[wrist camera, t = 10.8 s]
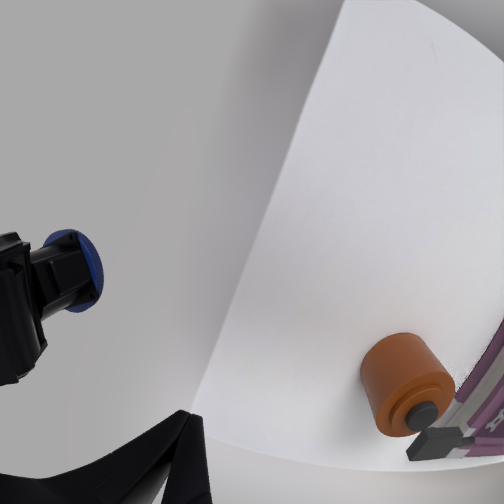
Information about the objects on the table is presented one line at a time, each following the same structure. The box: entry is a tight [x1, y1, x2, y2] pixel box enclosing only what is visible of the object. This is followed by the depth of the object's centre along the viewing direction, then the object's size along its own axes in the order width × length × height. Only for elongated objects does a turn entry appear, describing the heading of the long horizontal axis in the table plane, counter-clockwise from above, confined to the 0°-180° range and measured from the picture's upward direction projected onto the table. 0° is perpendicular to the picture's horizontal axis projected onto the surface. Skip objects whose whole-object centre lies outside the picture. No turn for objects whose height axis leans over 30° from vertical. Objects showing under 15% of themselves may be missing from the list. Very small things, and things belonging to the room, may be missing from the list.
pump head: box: [406, 426, 476, 461], centre depth 12 cm, size 6×2×2 cm, turn 77°
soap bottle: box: [360, 333, 455, 437], centre depth 17 cm, size 6×6×7 cm
